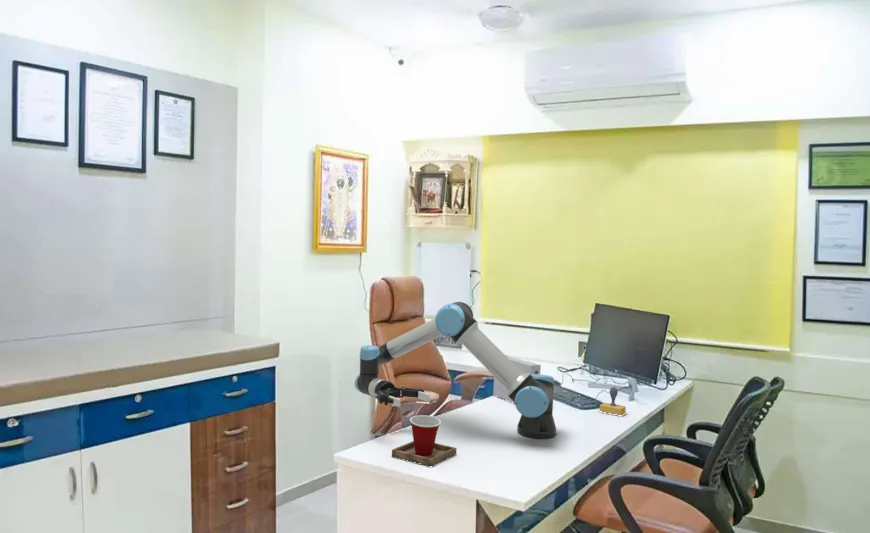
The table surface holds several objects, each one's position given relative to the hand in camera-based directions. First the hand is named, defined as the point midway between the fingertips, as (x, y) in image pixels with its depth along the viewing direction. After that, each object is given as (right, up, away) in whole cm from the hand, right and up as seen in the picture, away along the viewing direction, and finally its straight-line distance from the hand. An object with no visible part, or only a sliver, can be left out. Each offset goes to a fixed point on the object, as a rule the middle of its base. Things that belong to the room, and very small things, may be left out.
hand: (414, 400), depth 241 cm
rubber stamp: (+87, -17, +54) cm, 103 cm away
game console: (+45, -15, +67) cm, 82 cm away
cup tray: (+4, -16, -14) cm, 22 cm away
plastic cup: (+4, -16, -14) cm, 21 cm away
